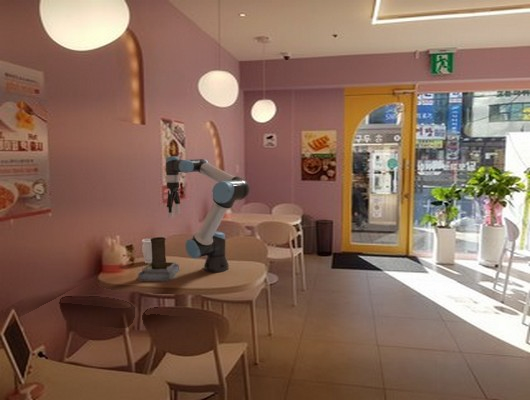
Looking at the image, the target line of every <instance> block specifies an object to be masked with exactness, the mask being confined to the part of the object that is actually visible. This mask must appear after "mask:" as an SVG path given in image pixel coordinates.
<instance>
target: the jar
mask: <svg viewBox="0 0 530 400" xmlns="http://www.w3.org/2000/svg"><path fill="white" fill-rule="evenodd" d="M152 238H153V237H152ZM152 238H143V239H142V240H141V243H142V245H141V251H142V255H143V258H144V263H145V264H149V263H151V262H152V247H151V246H152V243H151V239H152Z"/></svg>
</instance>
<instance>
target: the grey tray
mask: <svg viewBox="0 0 530 400" xmlns="http://www.w3.org/2000/svg"><path fill="white" fill-rule="evenodd" d="M166 263H167V269H152V262H151V263H147V265H146V266H145V267H143V268H142V270H141V271H140V272H139V273H138V275H137V276H138V279H137V281H138V282H171V281H172V279H173V278H174V277H175V276H176V275H177V274H178V273H179V272H180V264H179V263H176V262H174V261H173V262H171V261H166Z"/></svg>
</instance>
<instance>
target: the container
mask: <svg viewBox="0 0 530 400" xmlns="http://www.w3.org/2000/svg"><path fill="white" fill-rule="evenodd" d="M151 243H152V246H151V247H152V269H167V263H166V262H167V258H166V237H161V236H160V237H157V236H156V237H152V239H151Z"/></svg>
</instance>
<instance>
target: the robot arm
mask: <svg viewBox="0 0 530 400" xmlns="http://www.w3.org/2000/svg"><path fill="white" fill-rule="evenodd" d="M165 172H166V173H165V179H166V189H169V190H168V191H167V201H166V208H167V209H168V211H167V212H168V218H169V219H173V218H174V215H180V204H181V200H180V196H179V189H180V182H179V181H180V173H184V174H188V173H199V174H201V175H204V176H205V177H207V178H209V179H210V180H212V181H214V182H216V183H215V184H214V185H213V187H212V191H211V192H212V194H211V195H212V201H213V203H212V205H211V207H210V209H209V211H208V212H207V215H206V216H205V219H204V220H203V222H202V225H201V226H200V228H199V230H198V231H195V233H194V234H193V236H192V238H189V239H187V240H186V241H185V250H186V252H187V255H188V256H189V257H190V258H192V259H199V258H203V257H206V258H205V262H204V264H203V270H204V271H206V272H209V273H219V272H220V273H221V272H224V271H227V270H229V268H230V267H229V261H228V259H227V256H226V254H227V253H226V251H227V250H226V241H227V240H226V234H225V233H224V232H221V231H217V230H218V228H219V226H220V225H221V222H222V221H223V218H224V216H225V215H226V213H227V211H228V209H231V208H232V207H233V206H234V203H235V202H236V201H241V200H245V199H246V198H248V196H249V194H250V192H251V191H250V189H251V188H250V184H249V182H248V181H247V180H246V179H244V178H242V177H240V176H237V175H236V176H234V175H232V174H230V173H228V172H226V171H224V170H222V169H220V168H218V167H217V166H214V165H212V164H210V161H209V162H208V160H207V159H205V158H199V159H179V157H178V156H166V157H165ZM173 206H174V207H173Z"/></svg>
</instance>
